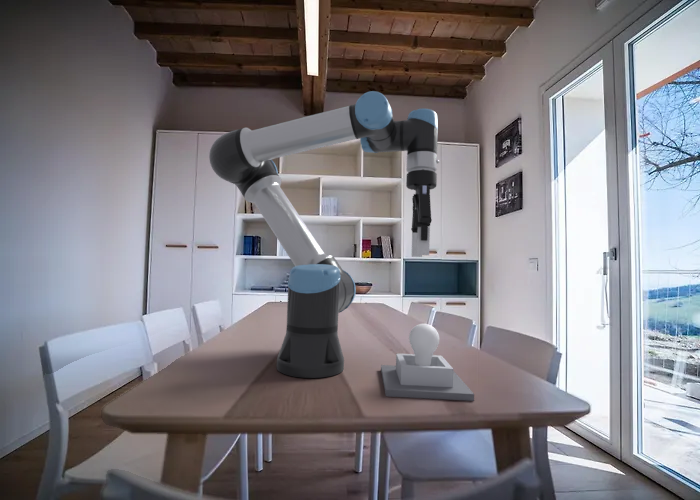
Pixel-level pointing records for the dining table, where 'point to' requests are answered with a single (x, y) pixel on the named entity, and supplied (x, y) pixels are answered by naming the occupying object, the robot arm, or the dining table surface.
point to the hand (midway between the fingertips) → (419, 256)
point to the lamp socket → (424, 379)
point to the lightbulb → (424, 343)
